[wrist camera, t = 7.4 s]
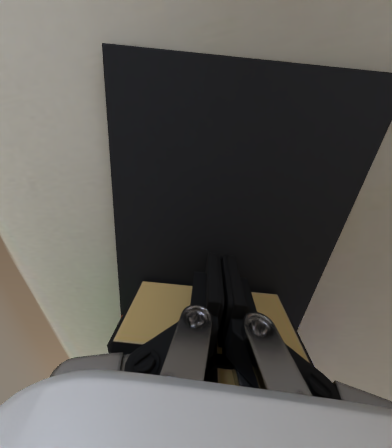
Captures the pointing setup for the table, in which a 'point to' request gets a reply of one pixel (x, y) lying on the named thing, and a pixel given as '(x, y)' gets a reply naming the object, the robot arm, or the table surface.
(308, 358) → the puzzle cube
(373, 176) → the table surface
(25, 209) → the table surface
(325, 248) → the mat
